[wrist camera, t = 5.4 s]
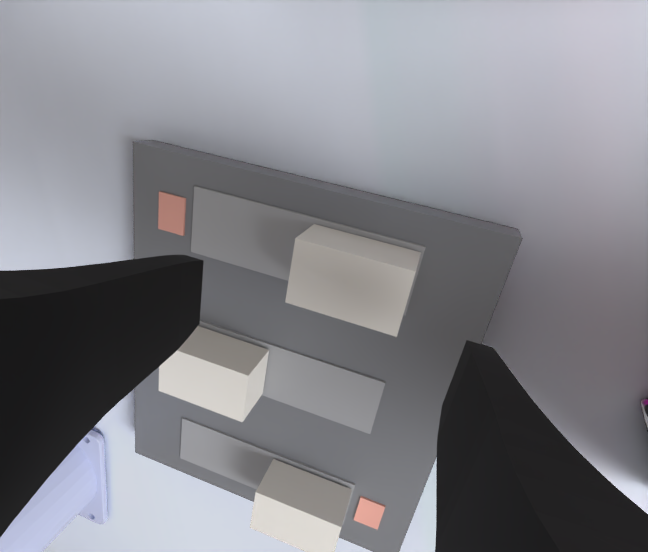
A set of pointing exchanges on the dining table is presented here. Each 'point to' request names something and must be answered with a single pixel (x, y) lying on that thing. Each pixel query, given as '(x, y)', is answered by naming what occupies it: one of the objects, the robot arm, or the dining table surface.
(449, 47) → the dining table surface
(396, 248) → the knob
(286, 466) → the knob
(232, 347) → the knob
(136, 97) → the dining table surface
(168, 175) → the switch unit
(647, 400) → the candy bar box
